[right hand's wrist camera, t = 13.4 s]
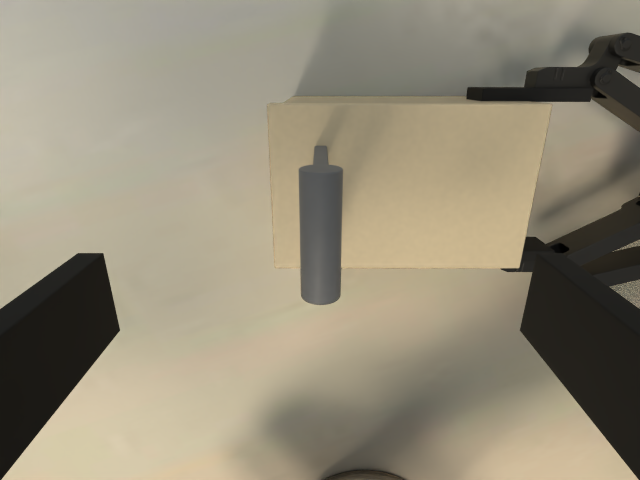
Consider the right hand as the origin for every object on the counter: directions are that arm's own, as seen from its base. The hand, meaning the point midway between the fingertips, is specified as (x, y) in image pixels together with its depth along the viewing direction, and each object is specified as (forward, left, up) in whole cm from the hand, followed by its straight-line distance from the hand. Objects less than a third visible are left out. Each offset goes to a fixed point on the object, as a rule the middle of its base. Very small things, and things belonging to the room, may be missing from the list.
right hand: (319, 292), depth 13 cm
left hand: (+5, -8, -16) cm, 18 cm away
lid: (+3, -4, -13) cm, 14 cm away
